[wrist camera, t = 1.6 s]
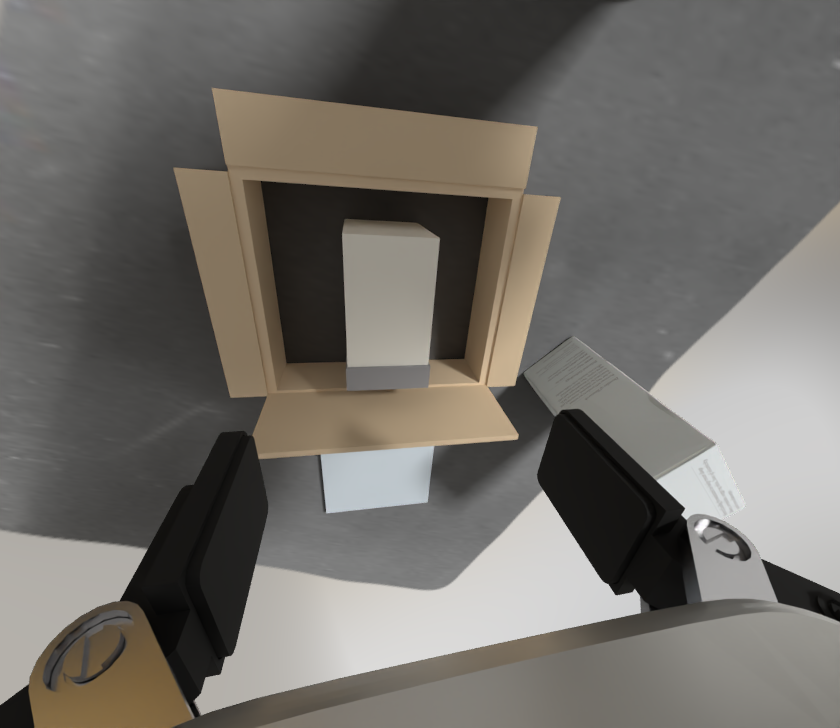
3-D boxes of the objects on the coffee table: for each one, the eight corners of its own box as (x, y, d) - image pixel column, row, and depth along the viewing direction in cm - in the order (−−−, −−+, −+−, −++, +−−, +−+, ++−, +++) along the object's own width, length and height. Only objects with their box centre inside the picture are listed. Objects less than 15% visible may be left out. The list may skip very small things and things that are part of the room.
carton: (191, 99, 18) (48, 30, 10) (540, 139, 22) (659, 114, 14) (247, 370, 26) (198, 463, 18) (494, 363, 30) (551, 437, 22)
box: (343, 218, 22) (340, 234, 16) (418, 222, 23) (442, 238, 17) (347, 341, 27) (346, 391, 21) (411, 341, 28) (428, 387, 22)
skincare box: (604, 384, 34) (754, 506, 21) (555, 419, 35) (671, 555, 23) (569, 330, 30) (730, 442, 17) (516, 372, 31) (629, 505, 19)
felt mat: (317, 411, 29) (316, 415, 29) (437, 405, 32) (438, 408, 31) (326, 509, 36) (326, 513, 35) (426, 498, 38) (427, 502, 37)
